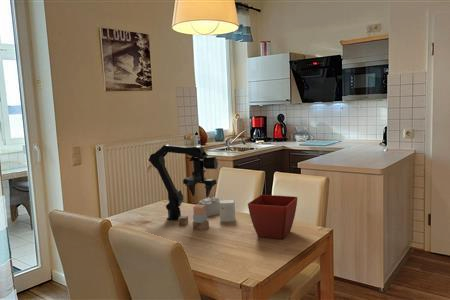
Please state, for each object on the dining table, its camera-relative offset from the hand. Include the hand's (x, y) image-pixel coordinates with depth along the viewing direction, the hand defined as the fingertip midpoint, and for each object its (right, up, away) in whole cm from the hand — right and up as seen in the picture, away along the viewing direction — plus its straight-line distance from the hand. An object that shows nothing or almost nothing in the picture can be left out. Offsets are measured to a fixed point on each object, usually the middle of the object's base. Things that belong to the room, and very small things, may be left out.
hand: (200, 196), depth 217 cm
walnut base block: (+1, -15, -12) cm, 19 cm away
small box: (+15, -13, -1) cm, 20 cm away
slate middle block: (+1, -11, -13) cm, 17 cm away
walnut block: (-9, -14, -4) cm, 17 cm away
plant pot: (+37, -15, -26) cm, 48 cm away
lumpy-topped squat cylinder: (+6, -11, +15) cm, 19 cm away
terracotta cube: (0, -7, -13) cm, 15 cm away
